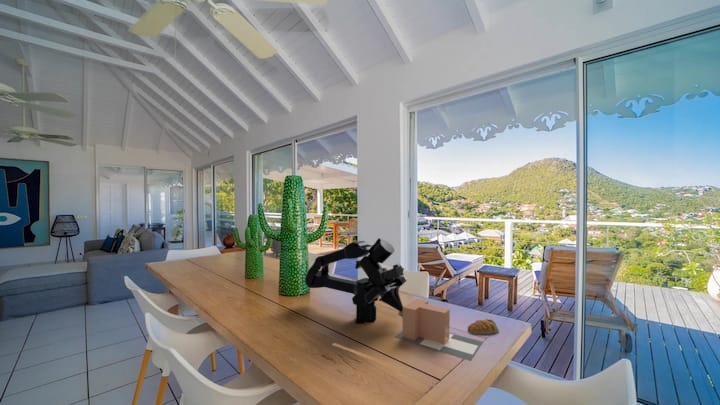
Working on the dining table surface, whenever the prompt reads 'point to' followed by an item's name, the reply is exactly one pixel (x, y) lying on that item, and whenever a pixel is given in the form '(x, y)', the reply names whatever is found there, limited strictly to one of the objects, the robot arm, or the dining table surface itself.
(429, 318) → the tee
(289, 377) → the dining table surface
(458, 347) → the board
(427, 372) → the dining table surface
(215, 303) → the dining table surface
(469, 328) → the pastry
